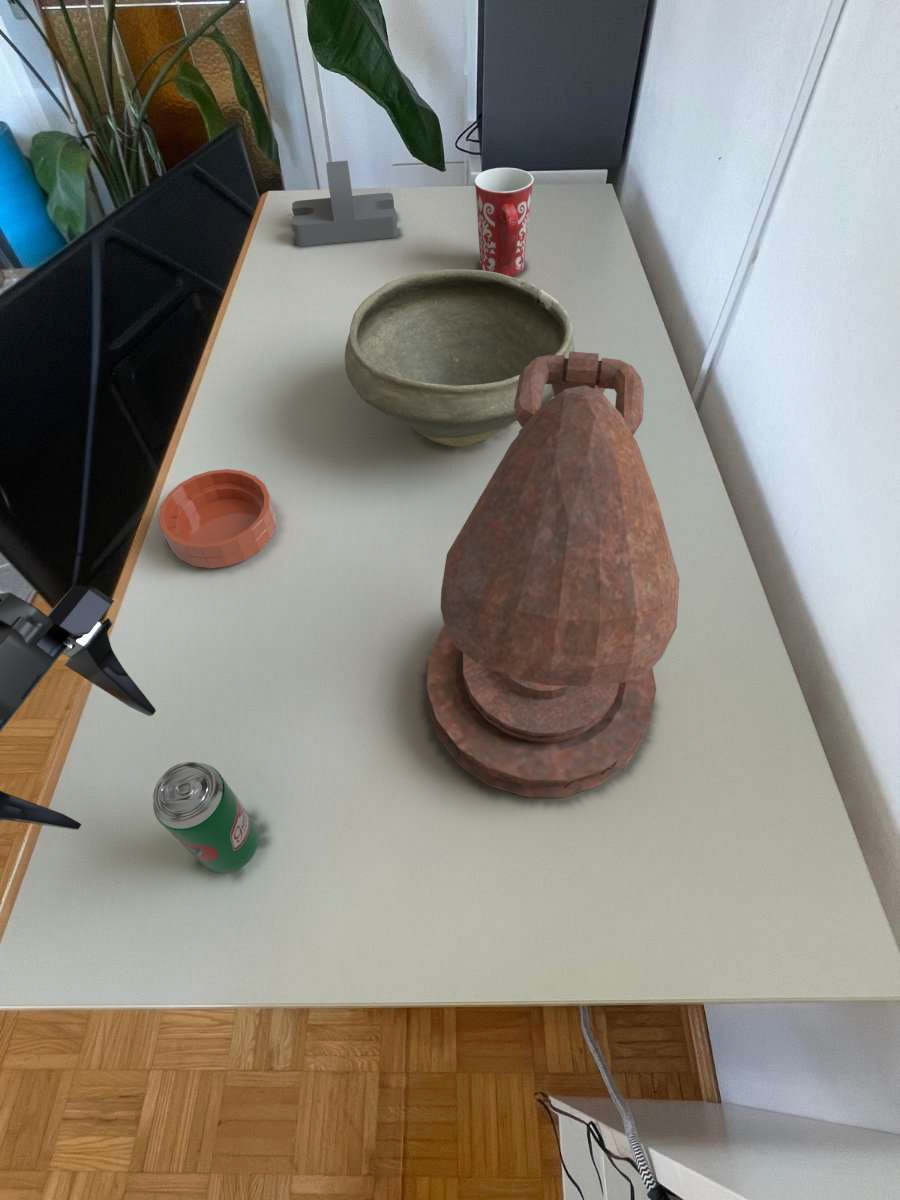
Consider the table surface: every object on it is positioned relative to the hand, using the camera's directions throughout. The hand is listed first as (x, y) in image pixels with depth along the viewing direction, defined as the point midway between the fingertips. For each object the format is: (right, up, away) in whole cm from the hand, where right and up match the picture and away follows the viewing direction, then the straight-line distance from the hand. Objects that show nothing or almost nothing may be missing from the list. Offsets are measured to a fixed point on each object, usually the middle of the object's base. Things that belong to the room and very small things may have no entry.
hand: (117, 767), depth 51 cm
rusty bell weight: (+32, +2, +15) cm, 36 cm away
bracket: (+6, +79, +75) cm, 109 cm away
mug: (+33, +66, +64) cm, 98 cm away
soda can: (+6, -9, +8) cm, 13 cm away
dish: (-2, +20, +30) cm, 37 cm away
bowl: (+26, +36, +42) cm, 61 cm away
